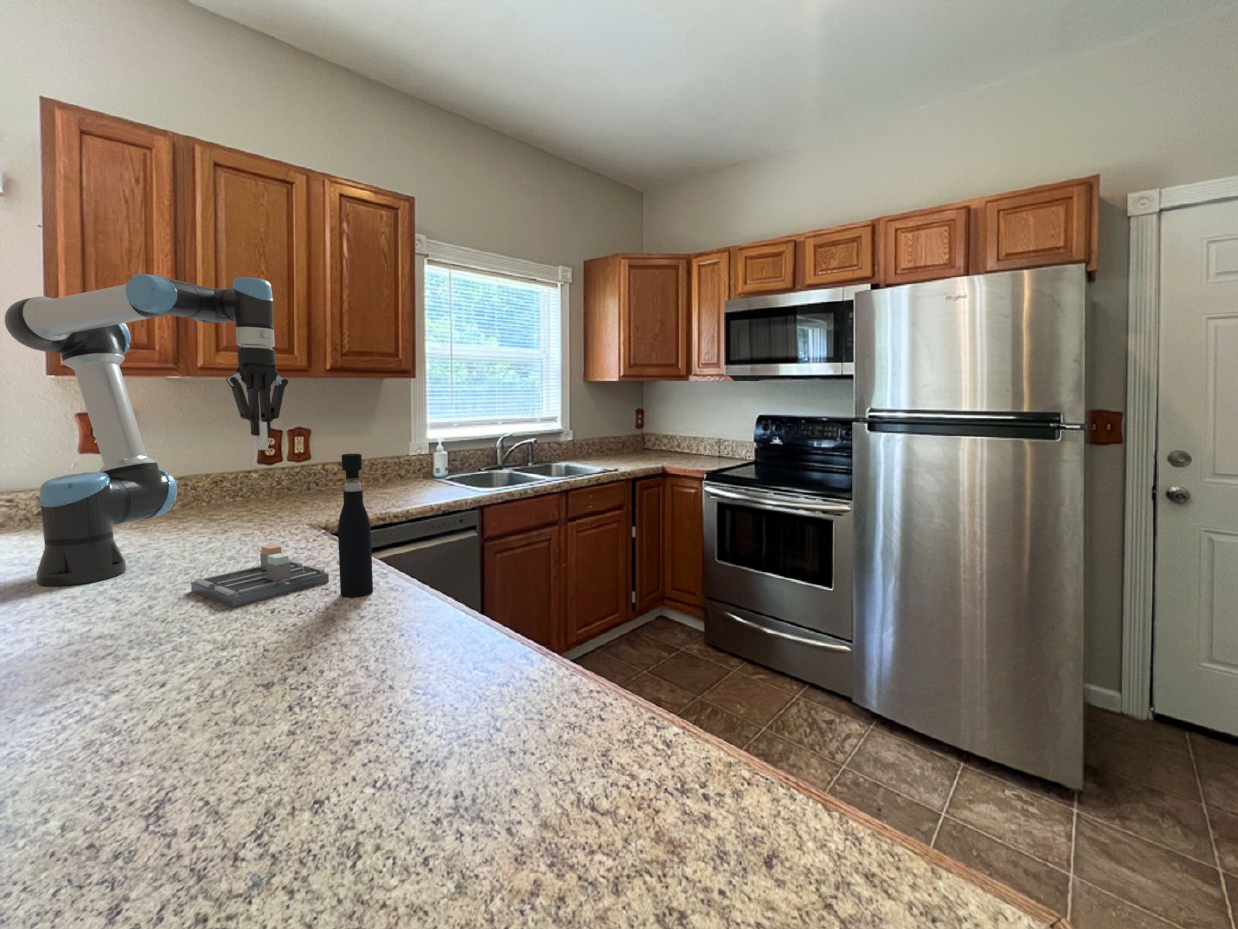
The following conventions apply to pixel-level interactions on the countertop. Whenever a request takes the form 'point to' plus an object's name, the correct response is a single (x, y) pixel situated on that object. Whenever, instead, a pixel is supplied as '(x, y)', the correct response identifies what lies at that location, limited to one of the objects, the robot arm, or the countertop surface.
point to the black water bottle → (354, 535)
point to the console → (257, 584)
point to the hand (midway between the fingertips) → (262, 449)
